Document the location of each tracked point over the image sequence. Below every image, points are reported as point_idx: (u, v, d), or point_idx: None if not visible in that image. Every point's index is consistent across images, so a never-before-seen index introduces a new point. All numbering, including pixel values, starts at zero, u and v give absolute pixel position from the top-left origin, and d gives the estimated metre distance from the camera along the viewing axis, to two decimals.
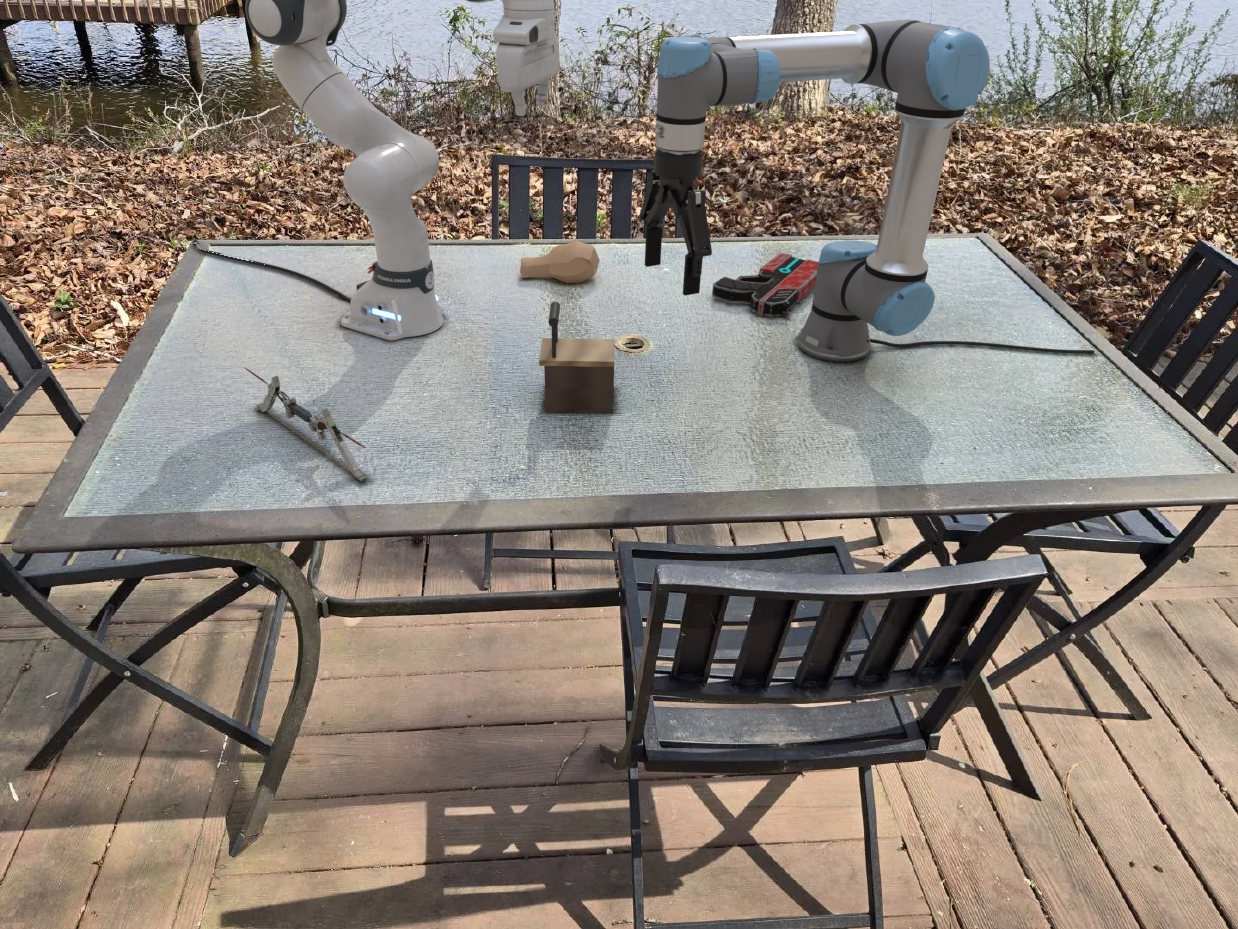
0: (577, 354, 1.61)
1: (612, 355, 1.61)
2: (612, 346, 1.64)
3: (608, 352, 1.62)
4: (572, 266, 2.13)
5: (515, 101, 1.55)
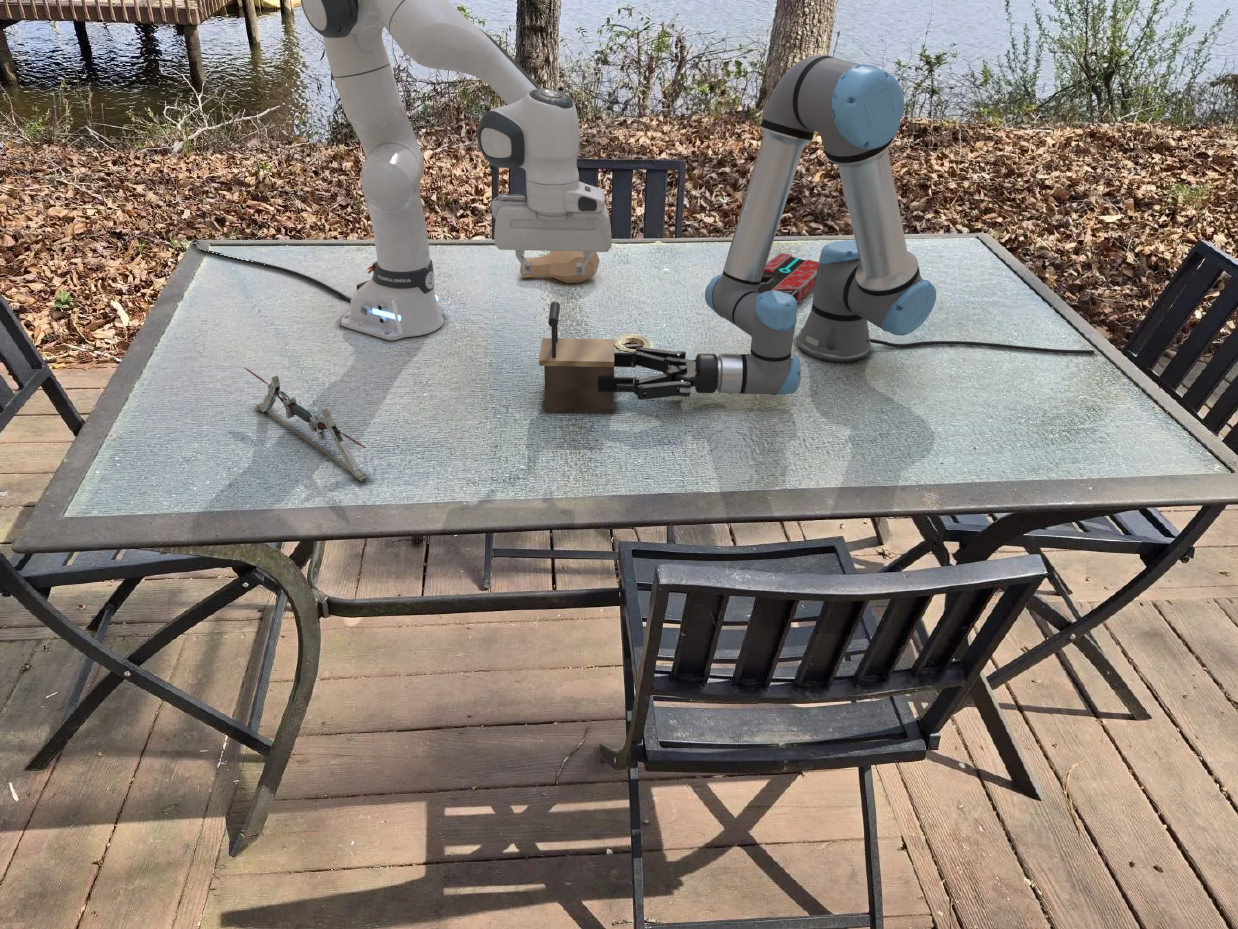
0: (577, 354, 1.61)
1: (612, 355, 1.61)
2: (612, 346, 1.64)
3: (608, 352, 1.62)
4: (572, 266, 2.13)
5: (587, 262, 1.53)
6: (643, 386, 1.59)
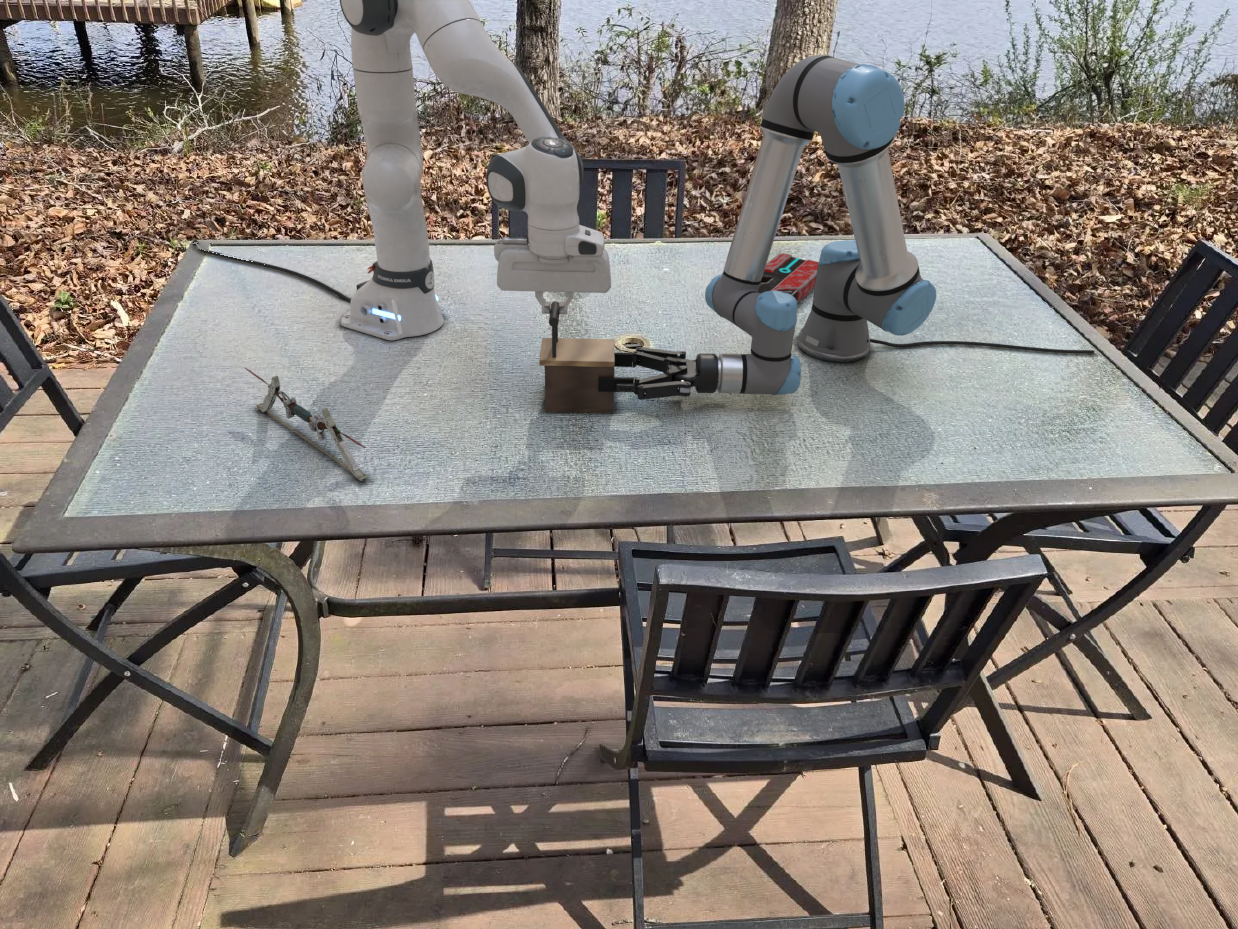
0: (577, 354, 1.61)
1: (612, 355, 1.61)
2: (612, 346, 1.64)
3: (608, 352, 1.62)
4: None
5: (570, 301, 1.57)
6: (643, 386, 1.59)
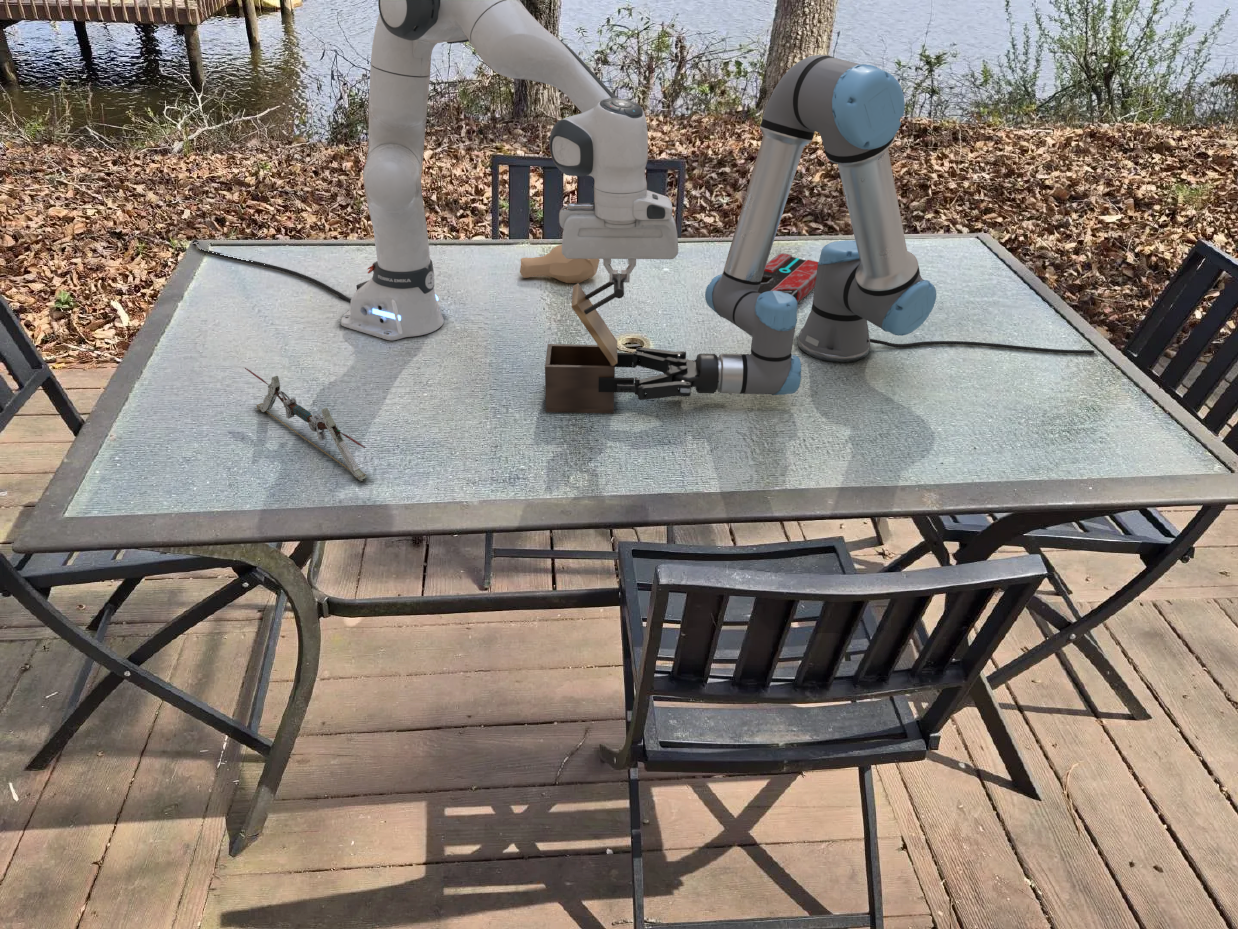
0: (598, 328, 1.58)
1: (616, 355, 1.61)
2: (616, 346, 1.64)
3: (614, 349, 1.62)
4: (572, 266, 2.13)
5: (632, 269, 1.54)
6: (644, 386, 1.59)
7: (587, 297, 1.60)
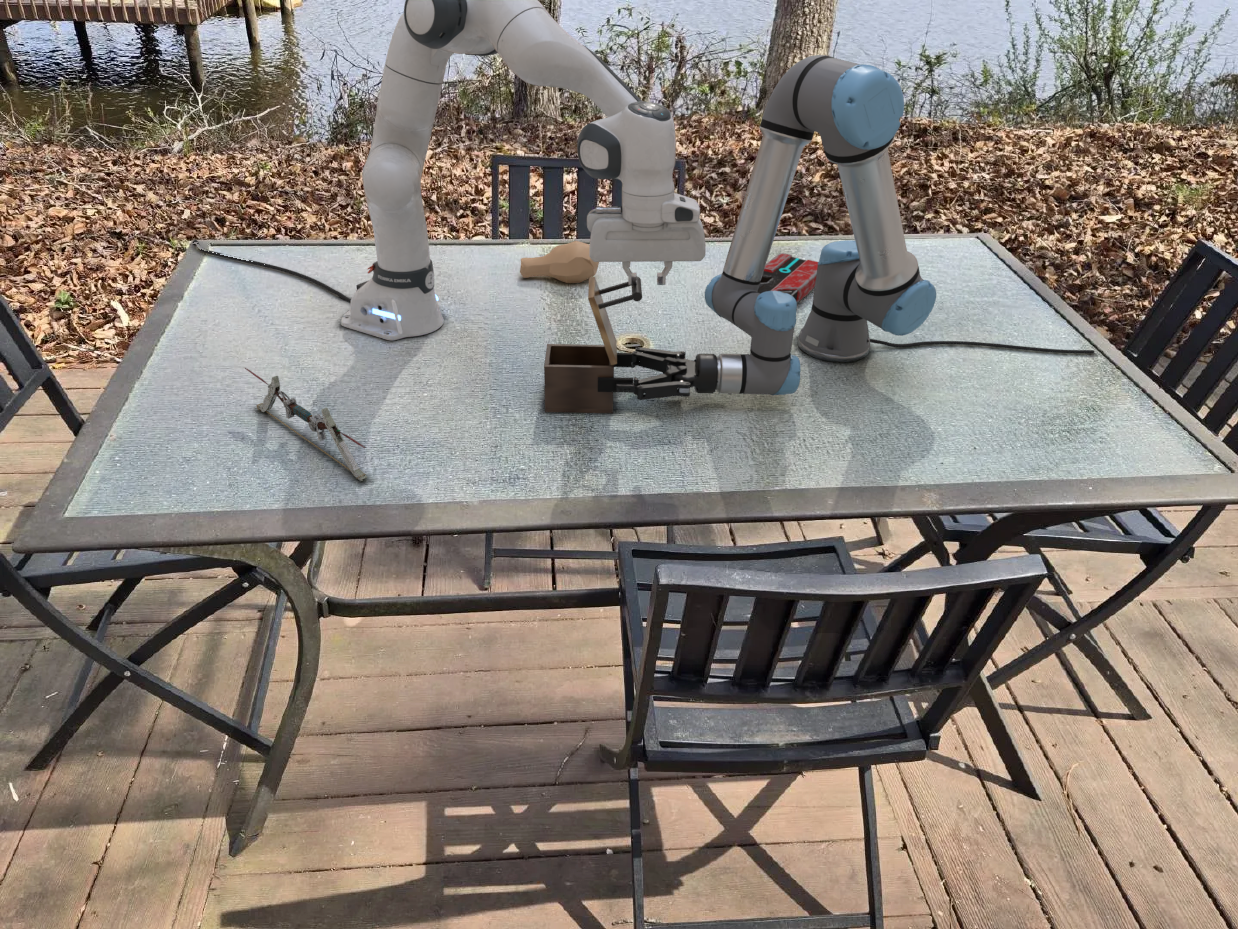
0: (606, 325, 1.58)
1: (616, 356, 1.61)
2: (616, 347, 1.64)
3: (615, 349, 1.62)
4: (572, 266, 2.13)
5: (668, 271, 1.54)
6: (643, 386, 1.59)
7: (601, 292, 1.60)
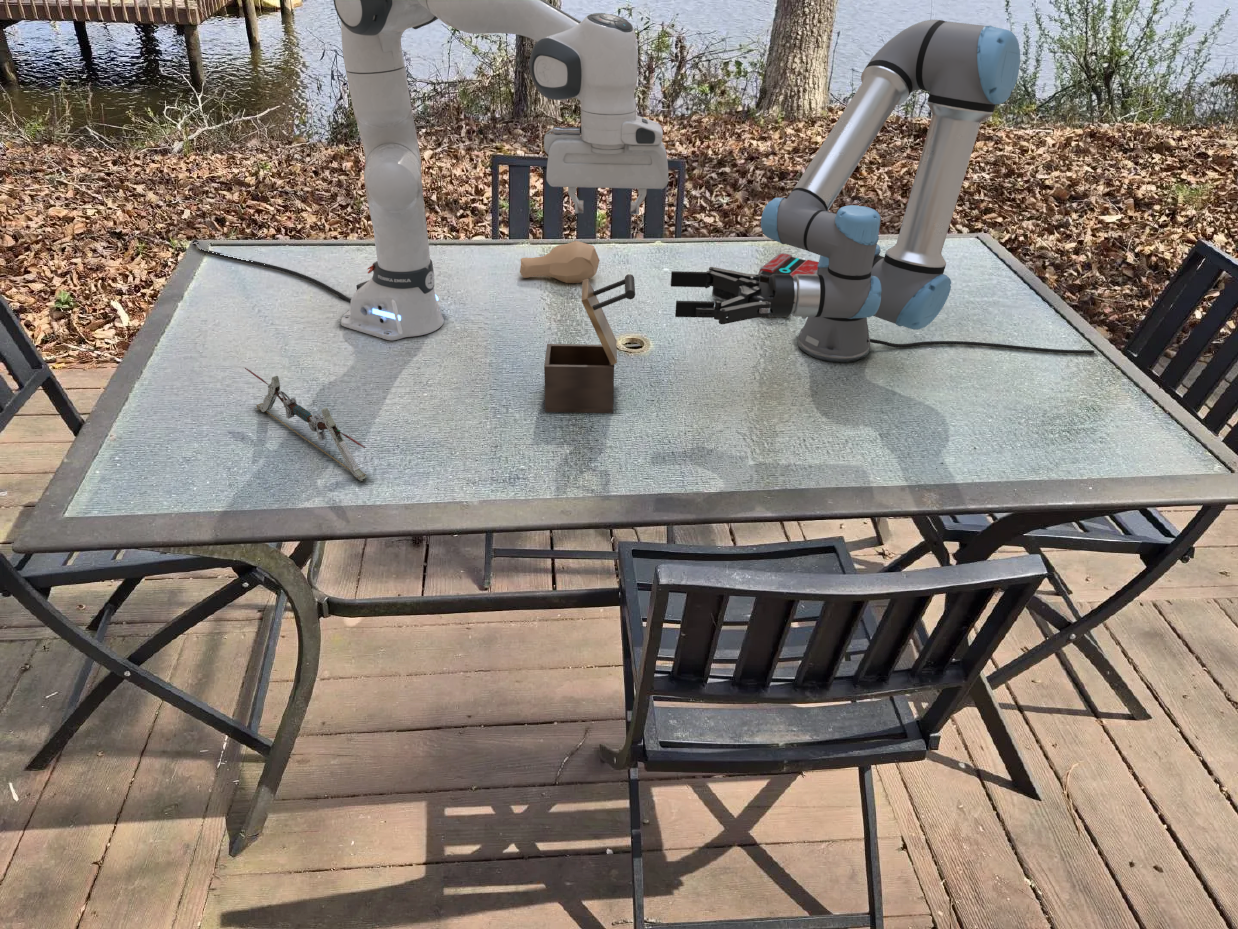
0: (602, 326, 1.58)
1: (616, 355, 1.61)
2: (616, 346, 1.64)
3: (614, 349, 1.62)
4: (572, 266, 2.13)
5: (642, 200, 1.47)
6: (725, 309, 1.49)
7: (595, 293, 1.60)
